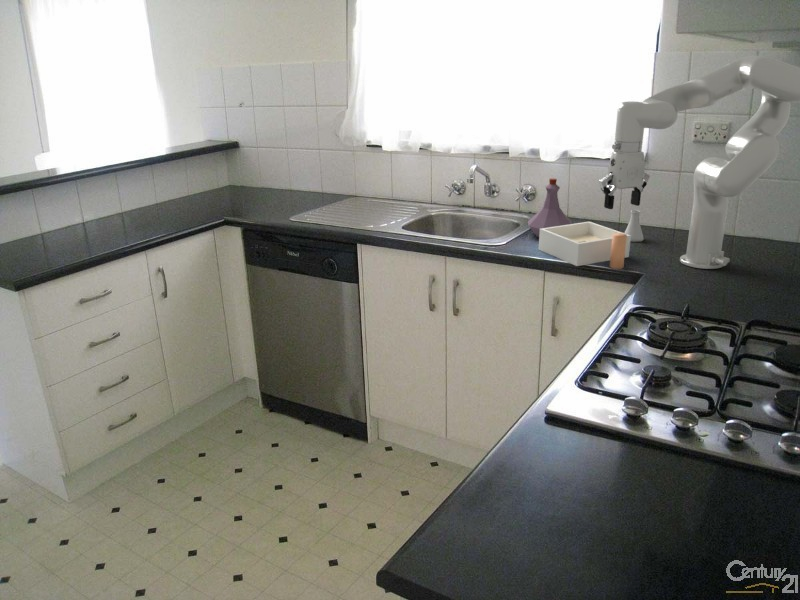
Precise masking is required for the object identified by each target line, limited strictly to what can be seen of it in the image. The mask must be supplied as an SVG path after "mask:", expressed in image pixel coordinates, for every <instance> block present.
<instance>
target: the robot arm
mask: <svg viewBox="0 0 800 600" xmlns="http://www.w3.org/2000/svg"><path fill="white" fill-rule="evenodd" d="M748 89H749V90H750V89H752V90H759V91H761V100H760V105H759V107H758V109H757V111H756V112H755V113H754V114H753V116H751V117H750V119H749V120H748V121H746V122H745V123H744V124H743V125H742V126H741V127H740V128H739V129H738V130H737V131H736V132H735V133H734V134H733V135H732V136H731V137H730V138H729V139H728V141H727V143H726V144H725V148H724V149H725V153H726V156H727V157H728V158H729V159H731V160H728V159H725V158H721V157H717V156H713V157H707V158H704V159H703V160H701V161H700V162H699V163H698V164H697V166H696V167H695V170H694V173H693V177H692V178H693V202H692V209H691V215H690V224H689V229H688V238H687V239H688V240H687V245H686V253H685V254H683V255H681V256H680V257H679V262H680V263H681V264H683V266H687V267H691V268H696V269H704V270H714V269H715V270H716V269H720V268H724V267H725V266H728V263H730V261H731V259H730V258H729V257H726V256H724V255H725V251H724V250H722V248H723V241H724V237H725V236H724V235H725V229H726V222H727V216H728V210H729V198H734V197H736V196H739V195H741V194H743V192H745V191H746V190H747V189H748V188H749V187H751V186H752V185H753V183H754V182H756V181H757V180H758V179H759V178H760V177H761V176H762V175H763V174H764V173H766V171H768V169H769V168H771V166H772V165H773V164H774V163H775V161H776V160H777V158H778V156H779V153H780V143H779V140H778V139H777V138H776V137H777V136H778V135H779V133H781V131H782V130H783V129H784V127H785V126H786V125H787V123H788V122H789V118H790V113H791V103H793V104H797V103H799V104H800V66H796V65H793V64H791V63H787V62H785V61H782V60H779V59H776V58H774V57H770V56H766V55H745V56H742V57H739V58H737V59H735V60H732V61H731V62H729V63H727V64H725V65H721V66H720V67H718V68H716V69H714V70H712V71H710V72H708V73H706V74H704V75H701V76H699V77H697V78H694V79H690V80H688V81H685V82H683V83H679V84H677V85H675V86H671V87H669V88H668V87H667V88H666V89H664V90H662V91H660V92H657V93H655V94H654V95H652V96H650V97H648V98H645V99H644V100H643V101H623V102H620V104H618V106H617V114H616V122H615V135H614V144H612V145H611V148H612V149H613V152H612V153H611V155H610V159H609V164H608V169H607V174H606V175H605V176H603V177H602V178H600V179H599V181H598V183H599V186H600V190H601V191H602V193H603V194H604V204H603V207H604V208H605V209H609V210H614V206H615V205H614V203H615V195H614V193H615V192H616V191H617V190H623V189H624V190H625V189H632V190H631V197H630V204H631V205H632V206H633V205H634V206H638V207H639V206H640V205H641V195H642V192H644V190H645V187H646V186H647V184H648V182H649V179H650V177H651V176H650V175H649V174H647V173H646V172H645V171H646V170H645V169H646V168H645V166H646V164H645V163H646V162H645V152H644V151H642V150H643V143H644V142H643V141H644V132H645V129H654V130H665V129H668V128H670V127H672V126H673V125H674V124H675V123H676V121H677V119H678V113H679V112H682V111H685V110H692V109H703V108H707V107H711V106H714V105H716V104H718V103H720V102H723V101H724V100H726V99H728V98H730V97H733V96H735V95H736V94H738V93H741V92H744V91H745V90H748Z"/></svg>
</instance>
